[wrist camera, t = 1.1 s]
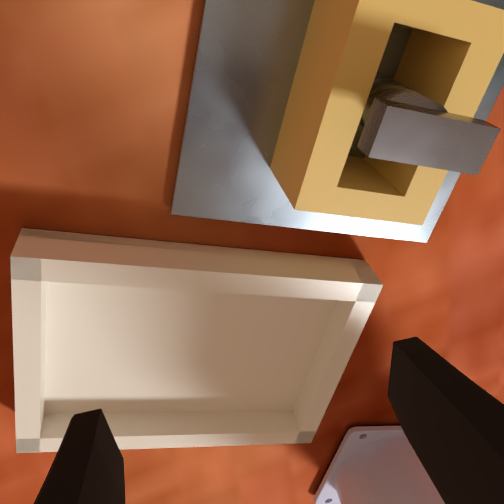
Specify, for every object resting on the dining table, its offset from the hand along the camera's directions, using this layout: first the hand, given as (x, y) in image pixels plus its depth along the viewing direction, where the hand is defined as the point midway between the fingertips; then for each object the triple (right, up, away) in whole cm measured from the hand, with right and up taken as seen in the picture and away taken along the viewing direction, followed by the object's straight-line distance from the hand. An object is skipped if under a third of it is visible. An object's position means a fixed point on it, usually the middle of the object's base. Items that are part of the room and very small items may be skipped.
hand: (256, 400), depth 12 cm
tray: (-3, -1, +11) cm, 12 cm away
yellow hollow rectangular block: (+4, +10, +6) cm, 12 cm away
